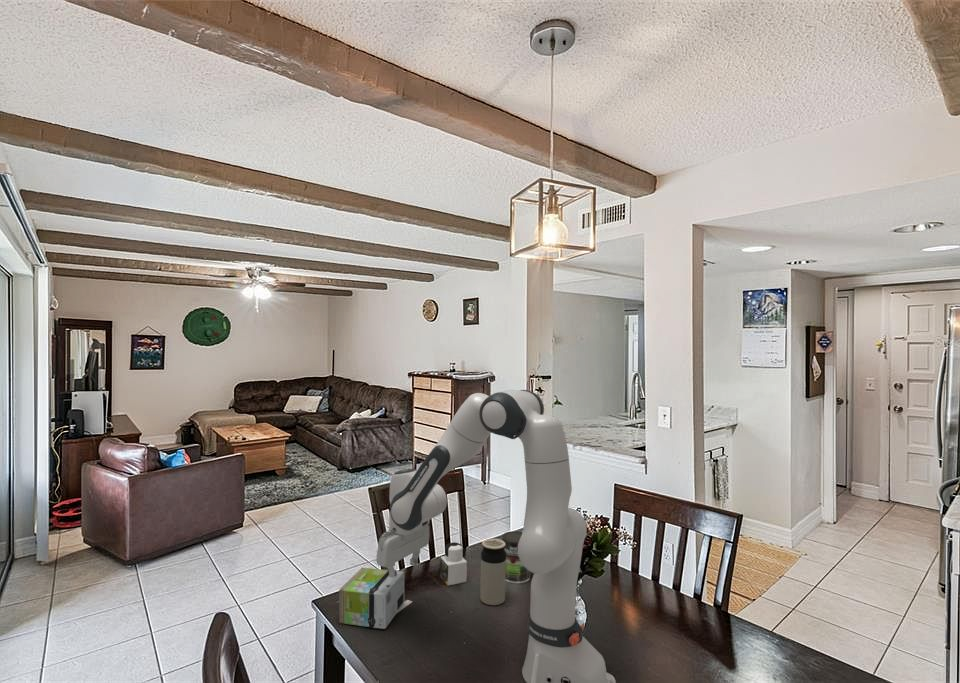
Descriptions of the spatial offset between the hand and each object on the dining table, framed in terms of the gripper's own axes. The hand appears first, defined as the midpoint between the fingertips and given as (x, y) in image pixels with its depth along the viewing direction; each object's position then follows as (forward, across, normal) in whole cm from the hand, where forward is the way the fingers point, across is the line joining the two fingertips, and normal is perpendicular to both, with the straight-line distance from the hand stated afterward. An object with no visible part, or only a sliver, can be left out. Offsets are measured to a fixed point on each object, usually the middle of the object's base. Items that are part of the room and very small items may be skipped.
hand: (403, 570), depth 145 cm
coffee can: (+14, +41, -16) cm, 46 cm away
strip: (+13, -1, +4) cm, 14 cm away
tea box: (+8, -2, +1) cm, 8 cm away
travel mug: (+14, +23, -17) cm, 32 cm away
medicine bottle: (+14, +27, +1) cm, 30 cm away
